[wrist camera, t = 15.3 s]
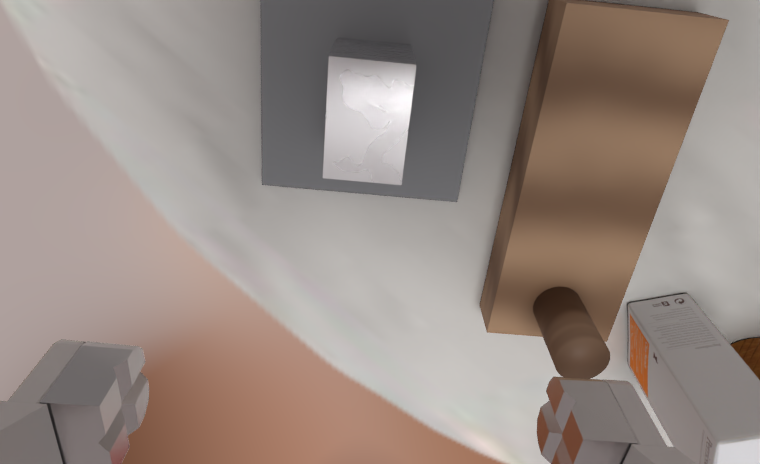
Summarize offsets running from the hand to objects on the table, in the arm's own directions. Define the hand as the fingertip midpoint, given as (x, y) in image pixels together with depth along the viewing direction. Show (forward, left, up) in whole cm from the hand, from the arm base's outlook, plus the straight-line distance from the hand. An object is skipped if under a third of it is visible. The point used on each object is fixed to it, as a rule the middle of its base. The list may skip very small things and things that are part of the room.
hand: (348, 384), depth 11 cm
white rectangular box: (0, 0, -22) cm, 22 cm away
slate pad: (0, 0, -23) cm, 23 cm away
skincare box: (+15, +22, -23) cm, 35 cm away
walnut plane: (+4, +13, -23) cm, 27 cm away
